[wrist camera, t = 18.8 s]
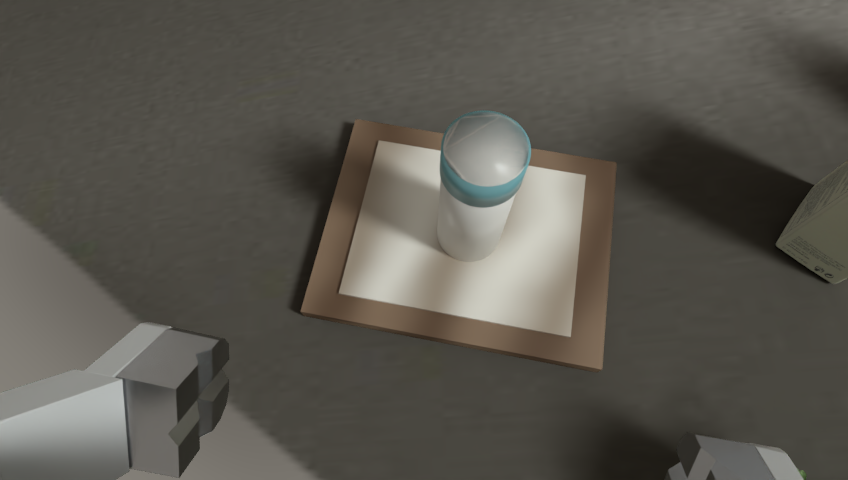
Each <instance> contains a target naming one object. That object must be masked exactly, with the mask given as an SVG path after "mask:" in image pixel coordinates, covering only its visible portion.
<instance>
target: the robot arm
mask: <svg viewBox="0 0 848 480" xmlns="http://www.w3.org/2000/svg"><path fill="white" fill-rule="evenodd" d="M228 360H229V343H228V342H227V341H226V340H225V339H224V338H220V337H215V336H211V335H207V334H202V333H198V332H193V331H189V330H184V329H180V328H175V327H173V328H172V327H170V326H166V325H161V324H156V323H151V322H145V323H140V324H139V325H138V326H137V327H135V328H134V329H133V330H132V331H131V332H129V333H128V334H127V335H126V336H125V337H123V338H122V339H121V340H120V341H119V342H117V343H116V344H115V345H114V346H113V347H111V348H110V349H109V350H108V351H107V352H106V353H104V354H103V355H102V356H101V357H99V358H98V359H97V360H96V361H95V362H94V363H92V364H91V365H90V366H89V367H88V368H86V369H85V370H84V371H81V370H76V369H74V370H71V371H68V372H64V373H61V374H58V375H55V376H52V377H49V378H46V379H42V380H39V381H36V382H33V383H30V384H26V385H23V386H20V387H17V388H14V389H10V390H7V391H4V392H1V393H0V480H116V479H118V478H119V477H121V476H123V475H124V474H126V473H128V472H129V469H134V470H139V471H145V472H150V473H155V474H160V475H166V476H171V477H176V478H179V477H180V476H181V475H182V473H183V472H184V470H185V469H186V468H187V466H188V465H189V463H190V462H191V460H192V459H193V458H194V456H195V455H196V454H197V452H198V451H199V449H200V444H199V443H200V442H199V437H201V436H203V435H205V434H207V433H209V432H212V431H213V429H214V428H215V426H216V425H217V423H218V422H219V420H220V419H221V416H222V413H223V411H224V409H225V406H226V403H227V398H228V392H229V379H228V377H227V376H226V374H225V373H224V371H223V370H222V368H223V366H224V365H225V364H226V363H227V361H228ZM676 451H677V454H678V456H679V459H680V461H681V462H680V463H678V464H677V465H675V466H673V467H672V468H670V469H669V470H668V471H667V474H666V477H665V480H804V479H803V478H802V476H801V475H800V473H799V471H798V470H797V468H796V467H795V465H794V464H793V462H792V461H791V459H790V458H789V456H788V455H787V454H786V453H785V452H784V451H782V450H781V449H780V448H776V447H770V446H764V445H758V444H752V443H742V442H737V441H731V440H726V439H721V438H716V437H711V436H706V435H700V434H695V433H690V432H686V433H685V435H684V436H683V437H682V438H681V440H680V442H679V444H678V447H677V449H676Z"/></svg>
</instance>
